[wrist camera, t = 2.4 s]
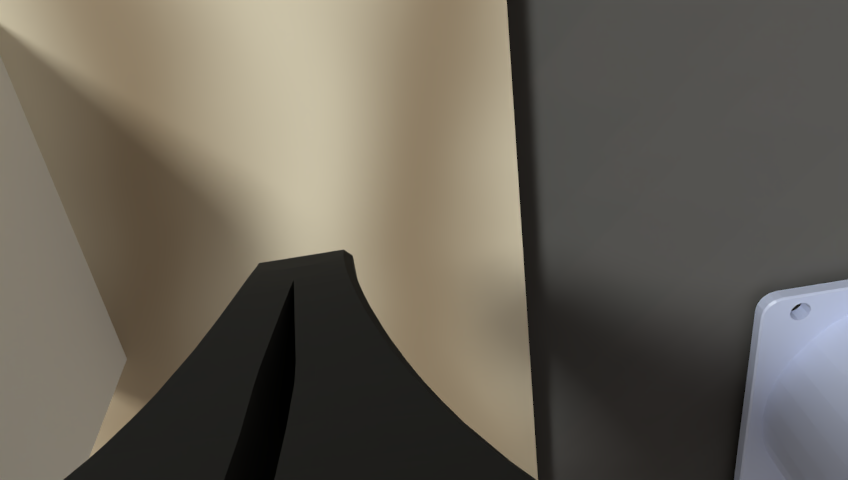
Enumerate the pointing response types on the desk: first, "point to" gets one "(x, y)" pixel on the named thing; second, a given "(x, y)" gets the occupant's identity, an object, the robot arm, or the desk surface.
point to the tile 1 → (46, 318)
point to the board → (290, 174)
